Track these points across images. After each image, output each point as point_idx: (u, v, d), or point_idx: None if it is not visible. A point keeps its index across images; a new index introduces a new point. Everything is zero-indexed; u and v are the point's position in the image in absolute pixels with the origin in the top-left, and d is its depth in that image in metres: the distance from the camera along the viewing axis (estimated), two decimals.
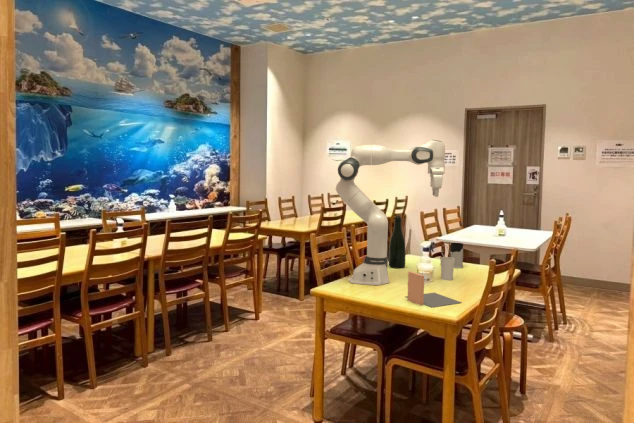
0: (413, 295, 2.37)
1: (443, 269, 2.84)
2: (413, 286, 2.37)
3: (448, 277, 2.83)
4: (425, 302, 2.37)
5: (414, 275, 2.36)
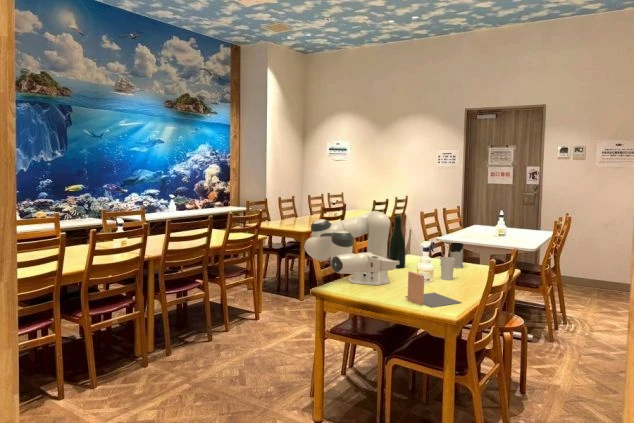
0: (413, 295, 2.37)
1: (443, 269, 2.84)
2: (413, 286, 2.37)
3: (448, 277, 2.83)
4: (425, 302, 2.37)
5: (414, 275, 2.36)
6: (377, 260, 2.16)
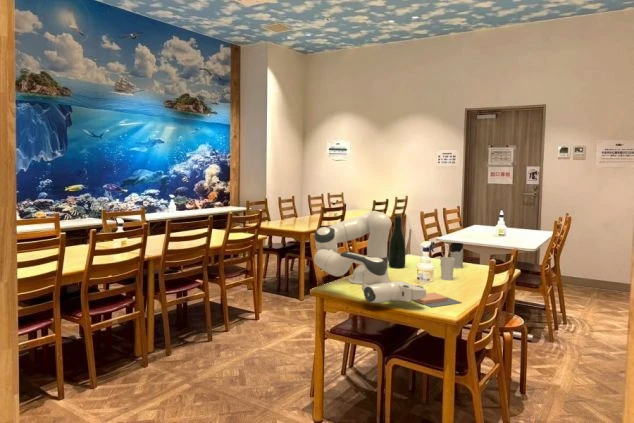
0: None
1: (443, 269, 2.84)
2: (429, 295, 2.42)
3: (448, 277, 2.83)
4: None
5: (438, 295, 2.44)
6: (408, 289, 2.24)
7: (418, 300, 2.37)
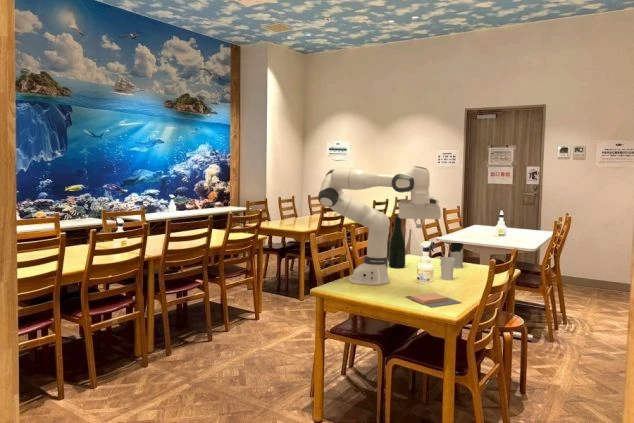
0: (422, 297, 2.40)
1: (443, 269, 2.84)
2: (429, 295, 2.42)
3: (448, 277, 2.83)
4: None
5: (438, 295, 2.44)
6: None
7: (418, 300, 2.37)
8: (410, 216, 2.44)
